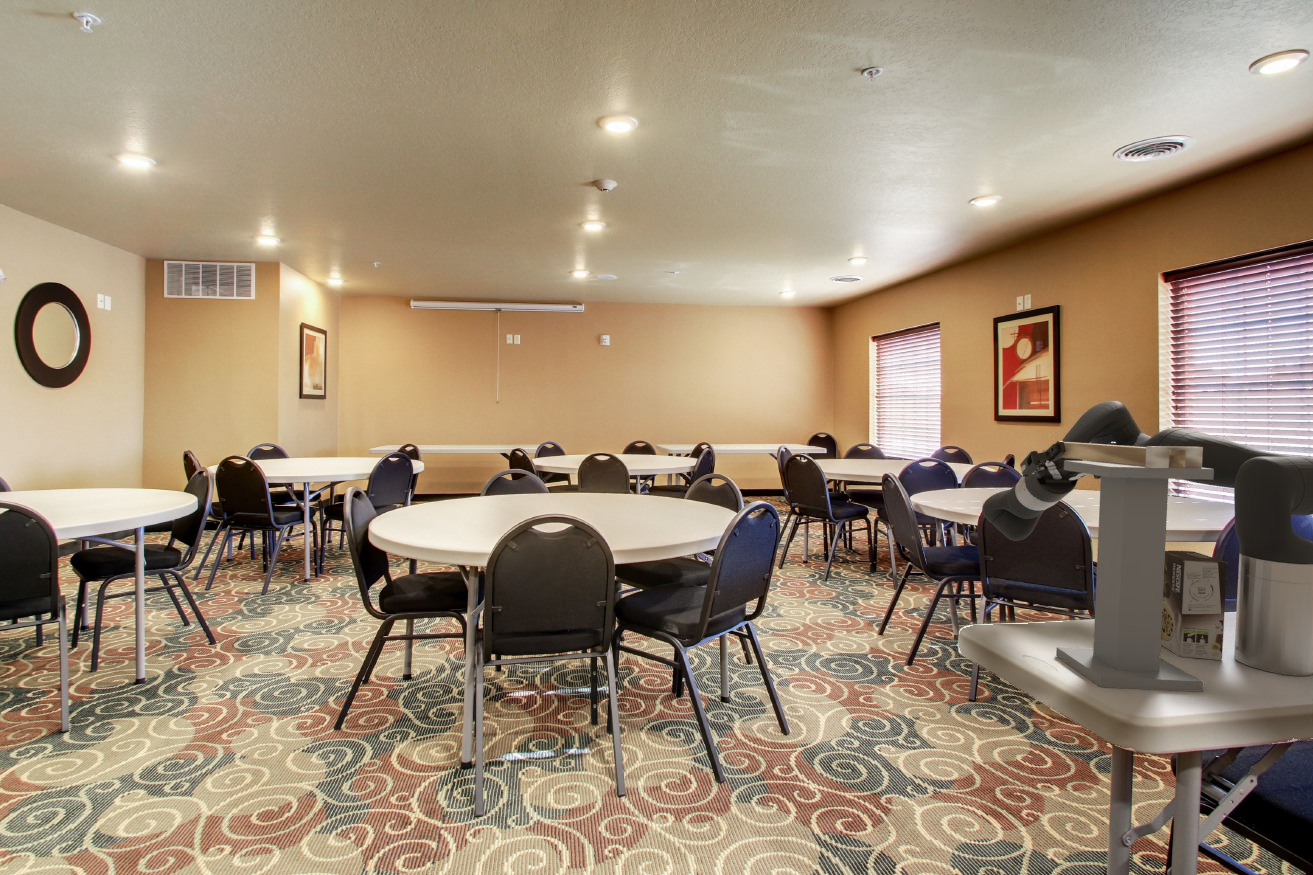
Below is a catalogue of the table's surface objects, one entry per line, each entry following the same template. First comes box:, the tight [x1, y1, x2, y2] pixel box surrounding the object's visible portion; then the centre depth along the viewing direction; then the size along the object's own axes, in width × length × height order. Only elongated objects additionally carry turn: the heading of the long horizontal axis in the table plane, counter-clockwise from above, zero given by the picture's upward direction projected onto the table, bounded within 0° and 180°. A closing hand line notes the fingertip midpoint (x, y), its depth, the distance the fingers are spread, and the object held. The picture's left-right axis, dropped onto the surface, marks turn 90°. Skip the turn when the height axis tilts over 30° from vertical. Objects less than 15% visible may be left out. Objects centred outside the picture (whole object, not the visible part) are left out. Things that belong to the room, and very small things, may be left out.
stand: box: [1055, 460, 1214, 693], centre depth 100 cm, size 14×12×32 cm
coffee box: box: [1161, 550, 1228, 661], centre depth 111 cm, size 9×6×16 cm
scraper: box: [1061, 442, 1203, 468], centre depth 104 cm, size 8×22×3 cm, turn 7°
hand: (1088, 446), depth 111 cm, fingers open, 8 cm apart
